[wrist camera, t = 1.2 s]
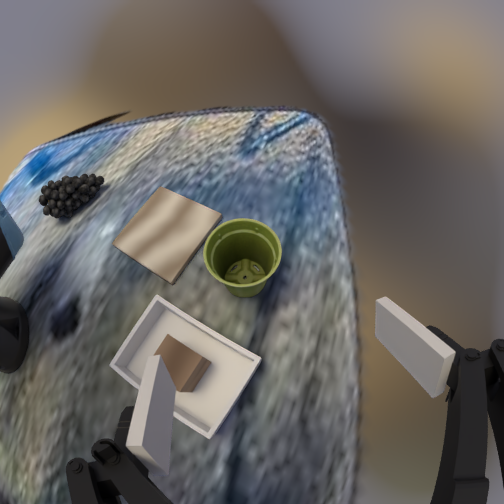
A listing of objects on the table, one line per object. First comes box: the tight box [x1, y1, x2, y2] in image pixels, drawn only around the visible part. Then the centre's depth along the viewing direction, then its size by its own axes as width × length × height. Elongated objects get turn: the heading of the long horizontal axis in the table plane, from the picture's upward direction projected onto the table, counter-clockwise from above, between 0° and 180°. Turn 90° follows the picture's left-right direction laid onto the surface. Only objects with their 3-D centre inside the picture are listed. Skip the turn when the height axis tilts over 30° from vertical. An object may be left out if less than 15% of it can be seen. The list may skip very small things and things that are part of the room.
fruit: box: [39, 174, 104, 218], centre depth 47 cm, size 9×8×15 cm
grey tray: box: [109, 294, 261, 439], centre depth 33 cm, size 16×12×4 cm
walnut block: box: [153, 334, 211, 392], centre depth 32 cm, size 5×5×6 cm
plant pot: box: [203, 218, 282, 297], centre depth 37 cm, size 9×9×9 cm
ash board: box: [112, 186, 222, 285], centre depth 45 cm, size 14×14×1 cm
